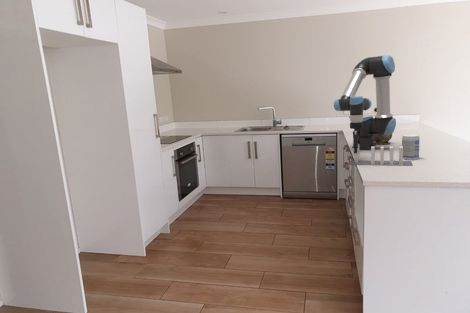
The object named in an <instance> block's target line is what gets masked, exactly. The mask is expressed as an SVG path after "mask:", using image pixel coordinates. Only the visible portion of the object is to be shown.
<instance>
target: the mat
mask: <svg viewBox="0 0 470 313" xmlns="http://www.w3.org/2000/svg"><path fill="white" fill-rule="evenodd" d="M349 166H372V165H371V159H370V160H366V159H365V160H364V159H363V160H360V159H358V162H355V159H354V160H353V159H351V160H350V162H349ZM373 166H386V167H389V166H390V167H391V166H392V167H394V166H395V167H413V166H414V165H413V162H412V160H403V165H399V160H393V165H390V160H384V165H380V160H375V164H374V165H373Z"/></svg>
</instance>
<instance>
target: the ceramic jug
mask: <svg viewBox="0 0 470 313" xmlns="http://www.w3.org/2000/svg"><path fill="white" fill-rule="evenodd" d="M373 111H374V112H375V113H377V107H375V108H374V110H373ZM392 137H393V133H392V134H391V135H376V134H373V139H374V142H375V145H387V144H389V142H390V141H391V139H392Z"/></svg>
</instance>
